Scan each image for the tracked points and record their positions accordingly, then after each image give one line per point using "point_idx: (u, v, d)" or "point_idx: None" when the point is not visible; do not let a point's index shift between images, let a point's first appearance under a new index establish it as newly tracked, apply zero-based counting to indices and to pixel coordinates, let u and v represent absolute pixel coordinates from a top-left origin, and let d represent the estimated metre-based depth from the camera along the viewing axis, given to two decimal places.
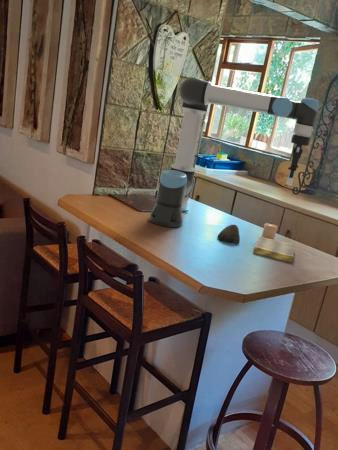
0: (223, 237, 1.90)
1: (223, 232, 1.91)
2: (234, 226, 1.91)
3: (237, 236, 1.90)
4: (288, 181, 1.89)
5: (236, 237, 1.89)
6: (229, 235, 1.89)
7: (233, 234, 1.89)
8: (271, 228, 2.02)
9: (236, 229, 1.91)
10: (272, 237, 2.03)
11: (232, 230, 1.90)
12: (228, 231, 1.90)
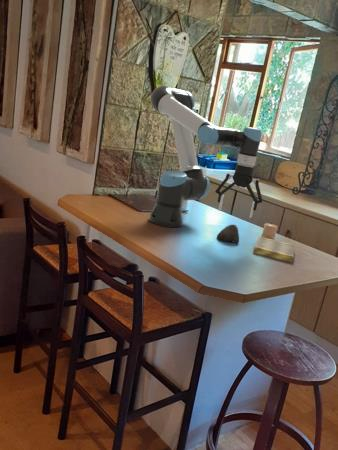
0: (222, 237, 1.89)
1: (222, 232, 1.90)
2: (233, 226, 1.91)
3: (236, 236, 1.89)
4: None
5: (235, 237, 1.89)
6: (228, 235, 1.88)
7: (232, 234, 1.89)
8: (271, 228, 2.02)
9: (235, 229, 1.91)
10: (272, 237, 2.03)
11: (231, 230, 1.89)
12: (227, 231, 1.89)
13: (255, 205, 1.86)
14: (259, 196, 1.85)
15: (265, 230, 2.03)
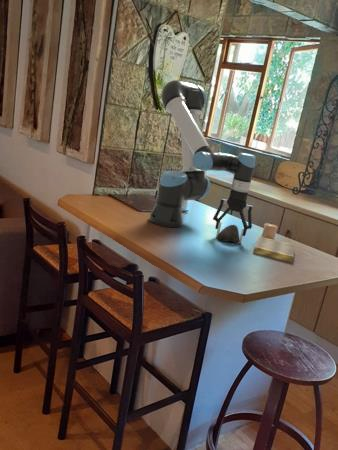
0: (223, 237, 1.89)
1: (223, 232, 1.90)
2: (234, 226, 1.91)
3: (237, 236, 1.89)
4: (217, 232, 1.95)
5: (236, 237, 1.89)
6: (229, 235, 1.88)
7: (233, 234, 1.88)
8: (271, 228, 2.02)
9: (236, 229, 1.90)
10: (272, 237, 2.03)
11: (232, 230, 1.89)
12: (228, 231, 1.89)
13: (244, 231, 1.90)
14: (249, 222, 1.88)
15: (265, 230, 2.03)
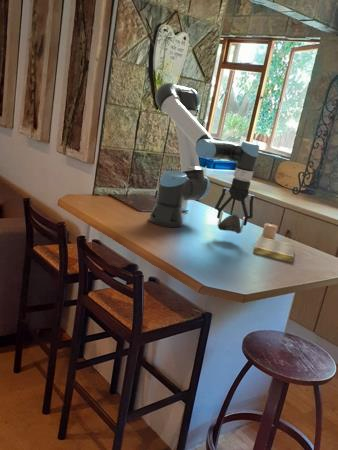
0: (224, 227, 1.88)
1: (224, 222, 1.89)
2: (235, 216, 1.89)
3: (238, 226, 1.88)
4: None
5: (237, 227, 1.88)
6: (230, 225, 1.87)
7: (234, 224, 1.87)
8: (271, 228, 2.02)
9: (237, 219, 1.89)
10: (272, 237, 2.03)
11: (233, 220, 1.88)
12: (229, 221, 1.88)
13: (245, 220, 1.89)
14: (251, 212, 1.88)
15: (265, 230, 2.03)
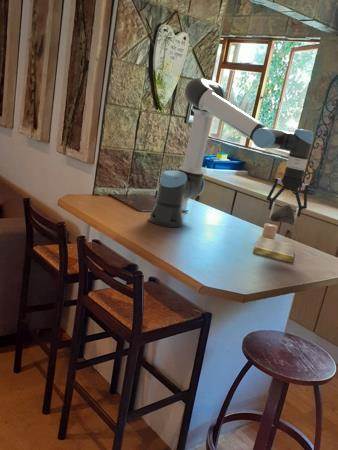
0: (277, 218, 1.80)
1: (277, 213, 1.81)
2: (288, 207, 1.82)
3: (292, 217, 1.80)
4: None
5: (291, 218, 1.80)
6: (284, 216, 1.79)
7: (288, 215, 1.80)
8: (271, 228, 2.02)
9: (291, 210, 1.81)
10: (272, 237, 2.03)
11: (287, 211, 1.80)
12: (283, 212, 1.80)
13: (299, 211, 1.82)
14: (305, 202, 1.80)
15: (265, 230, 2.03)
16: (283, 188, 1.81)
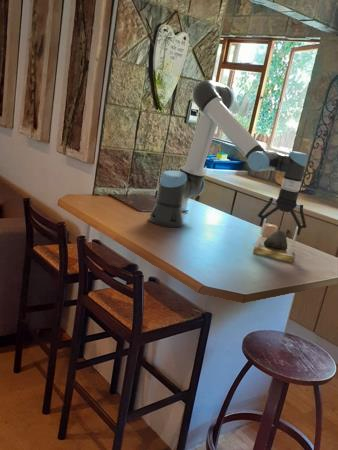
0: (271, 244, 1.83)
1: (270, 238, 1.84)
2: (281, 232, 1.85)
3: (285, 243, 1.83)
4: None
5: (284, 244, 1.83)
6: (277, 242, 1.82)
7: (281, 241, 1.83)
8: (271, 228, 2.02)
9: (284, 235, 1.84)
10: None
11: (280, 236, 1.83)
12: (276, 237, 1.83)
13: (299, 230, 1.84)
14: (303, 221, 1.82)
15: (265, 230, 2.03)
16: (276, 208, 1.83)
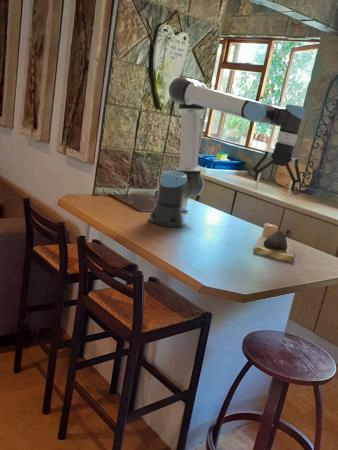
0: (270, 244, 1.83)
1: (270, 239, 1.84)
2: (281, 232, 1.85)
3: (285, 243, 1.83)
4: None
5: (284, 244, 1.83)
6: (277, 242, 1.82)
7: (281, 241, 1.83)
8: (271, 228, 2.02)
9: (283, 235, 1.84)
10: None
11: (280, 236, 1.83)
12: (275, 238, 1.83)
13: (293, 184, 1.83)
14: (298, 175, 1.81)
15: (265, 230, 2.03)
16: (272, 162, 1.83)
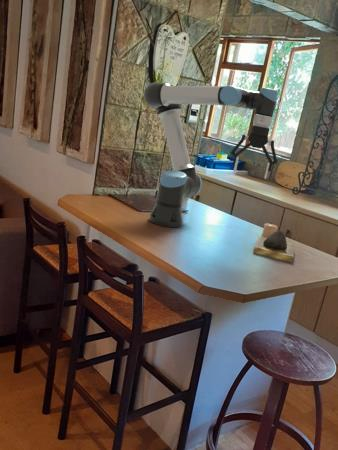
0: (270, 244, 1.83)
1: (270, 239, 1.84)
2: (281, 232, 1.85)
3: (285, 243, 1.83)
4: None
5: (284, 244, 1.83)
6: (277, 242, 1.82)
7: (281, 241, 1.83)
8: (271, 228, 2.02)
9: (283, 235, 1.84)
10: None
11: (279, 236, 1.83)
12: (275, 238, 1.83)
13: (270, 166, 1.89)
14: (274, 157, 1.87)
15: (265, 230, 2.03)
16: (248, 144, 1.89)
